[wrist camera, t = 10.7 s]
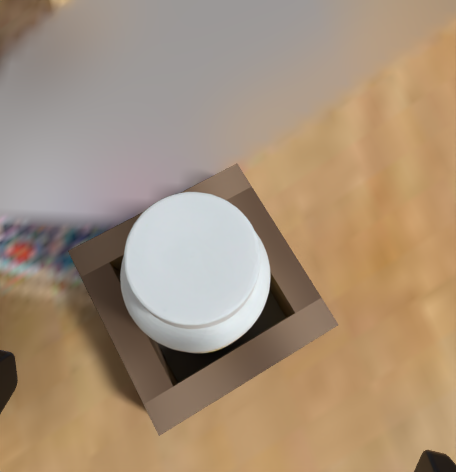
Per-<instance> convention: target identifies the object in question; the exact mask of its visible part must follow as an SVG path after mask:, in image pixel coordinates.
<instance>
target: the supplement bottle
mask: <svg viewBox="0 0 456 472" xmlns="http://www.w3.org/2000/svg"><path fill="white" fill-rule="evenodd" d="M120 281H121V291H122V295H123V299H124V302H125V305H126V308H127V310H128V312H129V314H130V316H131V317H132V319H133V320H134V322H135V323H136V324H137V325H138V327H139V328H140V329H141V330H142V331H143V332H144V333H145V334H146V335H148V336H149V337H150V338H151V339H153V340H155V341H156V342H158V343H160V344H162V345H164V346H166V347H168V348H171V349H174V350H178V351H182V352H190V353H208V352H213V351H216V350H220V349H222V348H224V347H226V346H228V345H230V344H231V343H233V342H234V341H236V340H237V339H239V338H240V337H241V336H242V335H244V334H245V333H246V332H247V331H248V330H249V329H250V328H251V327H252V325H253V324H254V323H255V322H256V320H257V319H258V317H259V316H260V314H261V312H262V310H263V308H264V306H265V303H266V301H267V297H268V293H269V289H270V265H269V260H268V256H267V253H266V250H265V248H264V245H263V243H262V241H261V239H260V238H259V236H258V235H257V233H256V232H255V230H254V228H253V226H252V224H251V223H250V222H249V220H248V219H247V218H246V216H245V215H244V214H243V213H242V212H241V211H240V210H239V209H238V208H237V207H235V206H234V205H232V204H231V203H230V202H228V201H226V200H224V199H222V198H220V197H217V196H215V195H212V194H207V193H200V192H184V193H178V194H174V195H171V196H168V197H166V198H163V199H161V200H159V201H157V202H156V203H154V204H153V205H152V206H150V207H149V208H148V209H146V210H145V211H144V212H143V213H142V214H141V215H140V217H139V218H138V219H137V221H136V222H135V223H134V225H133V227H132V229H131V231H130V233H129V235H128V237H127V241H126V245H125V250H124V256H123V260H122V265H121V274H120Z"/></svg>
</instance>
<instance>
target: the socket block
mask: <svg viewBox="0 0 456 472" xmlns="http://www.w3.org/2000/svg"><path fill="white" fill-rule="evenodd" d="M184 192H200V193H207V194H212V195H215V196H217V197H220V198H222V199H224V200H226V201H228V202H230V203H231V204H232V205H234V206H235V207H237V208H238V209H239V210H240V211H241V212H242V213H243V214H244V215H245V216H246V218H247V219H248V220H249V222H250V223H251V224H252V226H253V228H254V230H255V232H256V233H257V235H258V236H259V238H260V239H261V241H262V243H263V245H264V248H265V250H266V253H267V256H268V260H269V265H270V289H269V293H268V297H267V301H266V303H265V306H264V308H263V310H262V312H261V314H260V316H259V317H258V319H257V320H256V322H255V323H254V324H253V325H252V327H251V328H250V329H249V330H248V331H247V332H246V333H245V334H244V335H242V336H241V337H240V338H239V339H237V340H236V341H234V342H233V343H231V344H230V345H228V346H226V347H224V348H222V349H220V350H216V351H213V352H208V353H190V352H182V351H178V350H174V349H171V348H168V347H166V346H164V345H162V344H160V343H158V342H156V341H155V340H153V339H151V338H150V337H149V336H148V335H146V334H145V333H144V332H143V331H142V330H141V329H140V328H139V327H138V325H137V324H136V323H135V322H134V320H133V319H132V317H131V316H130V314H129V312H128V310H127V308H126V305H125V302H124V299H123V295H122V291H121V281H120V274H121V265H122V260H123V256H124V250H125V245H126V241H127V237H128V235H129V233H130V231H131V229H132V227H133V225H134V223H135V222H136V221H137V219H138V218H139V217H140V215H141V214H142V213H143V212H142V213H140V214H139V215H137V216H135V217H133V218H131V219H129V220H127V221H125V222H123V223H121V224H119V225H117V226H115V227H113V228H111V229H110V230H108V231H106V232H104V233H102V234H100V235H98V236H96V237H94V238H92V239H90V240H88V241H86V242H84V243H82V244H81V245H79V246H77V247H75V248H73V249H71V250H69V251H68V252H69V254H70V256H71V258H72V260H73V262H74V264H75V266H76V268H77V270H78V272H79V274H80V276H81V278H82V280H83V282H84V285H85V287H86V289H87V291H88V293H89V295H90V297H91V299H92V301H93V303H94V305H95V307H96V309H97V311H98V313H99V315H100V317H101V319H102V321H103V323H104V325H105V327H106V329H107V331H108V333H109V335H110V337H111V339H112V341H113V343H114V345H115V347H116V349H117V351H118V353H119V356H120V358H121V360H122V362H123V364H124V366H125V368H126V370H127V372H128V374H129V376H130V378H131V380H132V382H133V384H134V386H135V388H136V390H137V392H138V394H139V396H140V398H141V400H142V402H143V404H144V406H145V408H146V410H147V412H148V414H149V416H150V418H151V420H152V422H153V425H154V427H155V429H156V431H157V433H158V435H159V436H160V435H161V434H163V433H164V432H166V431H168V430H169V429H171V428H173V427H174V426H176V425H177V424H179V423H181V422H182V421H184V420H185V419H187V418H189V417H190V416H192V415H194V414H195V413H197V412H198V411H200V410H202V409H203V408H205V407H207V406H208V405H210V404H211V403H213V402H215V401H216V400H218V399H219V398H221V397H223V396H224V395H226V394H228V393H229V392H231V391H232V390H234V389H236V388H237V387H239V386H241V385H242V384H244V383H245V382H247V381H249V380H250V379H252V378H253V377H255V376H257V375H258V374H260V373H262V372H263V371H265V370H266V369H268V368H270V367H271V366H273V365H274V364H276V363H278V362H279V361H281V360H283V359H284V358H286V357H287V356H289V355H291V354H292V353H294V352H296V351H297V350H299V349H300V348H302V347H304V346H305V345H307V344H308V343H310V342H312V341H313V340H315V339H317V338H318V337H320V336H321V335H323V334H325V333H326V332H328V331H329V330H331V329H333V328H334V327H336V326H338V323H337V322H336V320H335V318H334V317H333V315H332V314H331V312H330V311H329V309H328V307H327V306H326V304H325V303H324V301H323V299H322V298H321V296H320V295H319V293H318V291H317V290H316V288H315V287H314V285H313V283H312V282H311V280H310V279H309V277H308V276H307V274H306V272H305V271H304V269H303V268H302V266H301V264H300V263H299V261H298V260H297V258H296V256H295V255H294V253H293V252H292V250H291V248H290V247H289V245H288V244H287V242H286V240H285V239H284V237H283V236H282V234H281V233H280V231H279V229H278V228H277V226H276V225H275V223H274V221H273V220H272V218H271V217H270V215H269V213H268V212H267V210H266V209H265V207H264V205H263V204H262V202H261V201H260V199H259V198H258V196H257V194H256V193H255V191H254V190H253V188H252V186H251V185H250V183H249V182H248V180H247V178H246V177H245V175H244V174H243V172H242V170H241V169H240V167H239V166H238V164H235V165H233V166H231V167H229V168H227V169H225V170H224V171H222V172H220V173H218V174H216V175H214V176H212V177H210V178H208V179H206V180H204V181H202V182H200V183H198V184H197V185H195V186H193V187H191V188H189V189H187V190H185V191H183V192H181V193H184Z"/></svg>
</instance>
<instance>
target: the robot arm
mask: <svg viewBox="0 0 456 472" xmlns="http://www.w3.org/2000/svg"><path fill="white" fill-rule="evenodd" d="M16 386H17V371H16V363H15V356H14V355H13V353H11V352H8V351H3V350H0V413H1V412H2V410H3V409H4V407H5V405H6V404H7V402H8V401H9V399H10V397H11V396H12V394H13V392H14V391H15V388H16ZM414 472H456V464H455V463H454V462H453V461H452V460H451V458H450V457H449V456H447V455H446V454H443V453H439V452H435V451H431V450H425V451H424V452H423V453H422V455H421V457H420V459H419V462H418V464H417V466H416V468H415V471H414Z"/></svg>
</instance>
